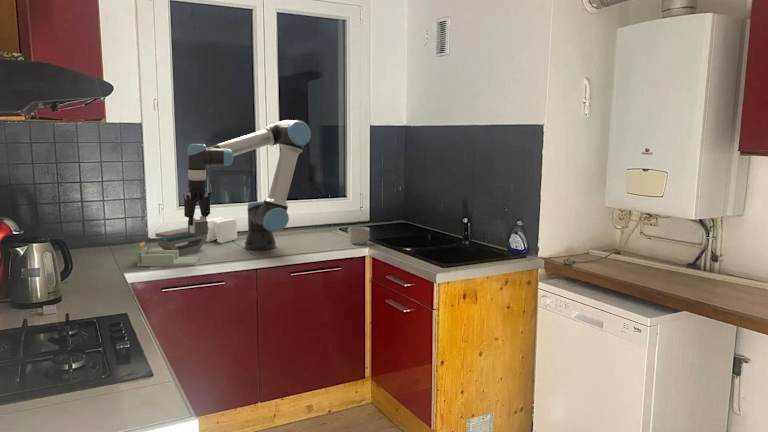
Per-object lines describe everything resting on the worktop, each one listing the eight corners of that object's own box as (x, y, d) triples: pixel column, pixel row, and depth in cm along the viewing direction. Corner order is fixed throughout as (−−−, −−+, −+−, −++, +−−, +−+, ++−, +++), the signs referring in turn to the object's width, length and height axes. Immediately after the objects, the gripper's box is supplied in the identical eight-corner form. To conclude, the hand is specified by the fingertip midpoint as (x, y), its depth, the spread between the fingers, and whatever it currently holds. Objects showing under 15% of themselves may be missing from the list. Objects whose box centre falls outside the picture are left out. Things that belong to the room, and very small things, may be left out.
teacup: (373, 244, 310) (373, 229, 309) (355, 246, 304) (355, 231, 303) (359, 239, 321) (359, 225, 320) (341, 241, 315) (341, 226, 314)
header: (199, 259, 272) (199, 239, 271) (194, 265, 260) (194, 245, 259) (144, 259, 269) (143, 240, 268) (137, 266, 257) (136, 245, 256)
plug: (188, 233, 266) (187, 219, 265) (197, 232, 270) (196, 218, 269) (198, 235, 262) (198, 221, 261) (207, 234, 266) (207, 220, 265)
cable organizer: (218, 244, 304) (217, 222, 302) (202, 242, 308) (201, 220, 306) (237, 239, 317) (237, 218, 315) (222, 237, 321) (221, 216, 320)
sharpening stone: (168, 258, 272) (167, 235, 270) (156, 256, 276) (155, 233, 274) (209, 249, 293) (208, 227, 292) (197, 247, 297) (196, 225, 295)
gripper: (207, 177, 272) (207, 228, 275) (174, 179, 257) (175, 233, 260) (218, 178, 268) (219, 230, 271) (186, 181, 253) (187, 235, 256)
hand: (197, 231), depth 266 cm, fingers closed on plug, 5 cm apart
